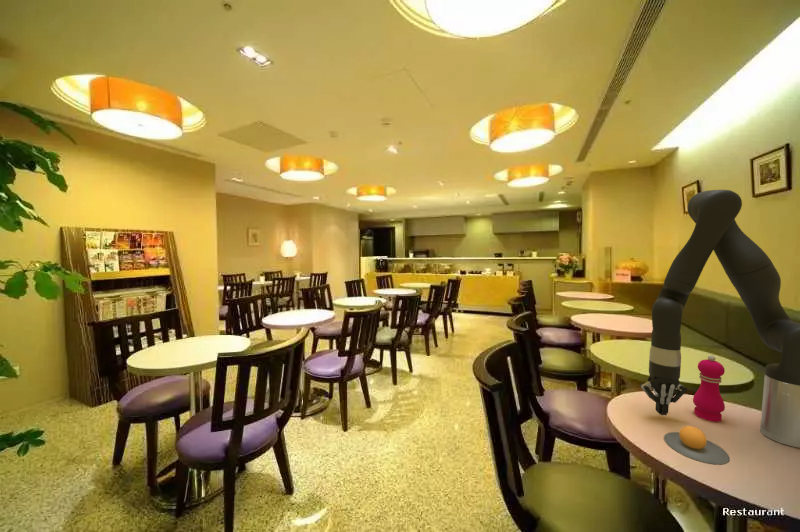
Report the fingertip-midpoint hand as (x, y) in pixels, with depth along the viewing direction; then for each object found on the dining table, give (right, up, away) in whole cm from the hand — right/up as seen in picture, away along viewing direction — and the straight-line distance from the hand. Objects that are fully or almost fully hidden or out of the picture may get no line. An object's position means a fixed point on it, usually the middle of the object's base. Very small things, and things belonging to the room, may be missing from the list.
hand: (661, 413), depth 99 cm
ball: (-3, 0, -14) cm, 14 cm away
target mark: (-2, -3, -14) cm, 14 cm away
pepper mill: (+15, -1, +1) cm, 15 cm away
